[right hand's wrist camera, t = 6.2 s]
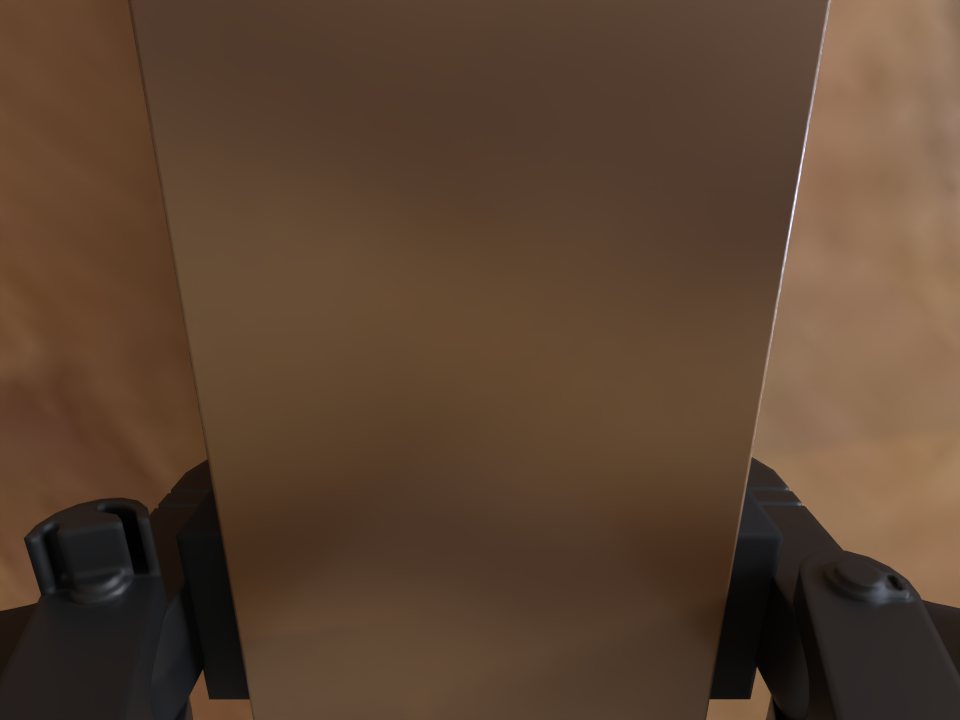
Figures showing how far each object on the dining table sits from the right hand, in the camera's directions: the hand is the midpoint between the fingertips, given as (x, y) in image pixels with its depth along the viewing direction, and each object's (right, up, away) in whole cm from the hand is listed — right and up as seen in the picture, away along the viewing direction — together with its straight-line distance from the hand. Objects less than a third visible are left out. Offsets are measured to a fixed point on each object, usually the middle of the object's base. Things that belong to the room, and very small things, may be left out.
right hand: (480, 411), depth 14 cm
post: (0, +32, -11) cm, 34 cm away
